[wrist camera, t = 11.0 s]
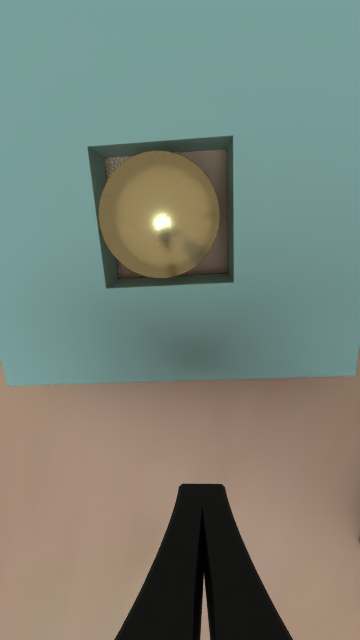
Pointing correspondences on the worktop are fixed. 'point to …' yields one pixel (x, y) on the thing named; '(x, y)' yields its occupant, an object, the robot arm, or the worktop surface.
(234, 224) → the jig
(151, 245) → the peg
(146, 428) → the worktop surface
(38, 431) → the worktop surface
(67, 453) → the worktop surface
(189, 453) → the worktop surface
